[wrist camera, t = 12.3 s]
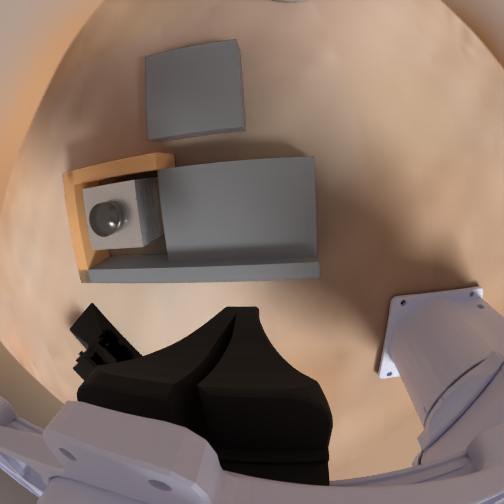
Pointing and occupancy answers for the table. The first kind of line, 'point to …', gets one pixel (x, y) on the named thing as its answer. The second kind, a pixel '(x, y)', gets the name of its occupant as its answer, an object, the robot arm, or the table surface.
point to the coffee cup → (291, 1)
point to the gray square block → (195, 91)
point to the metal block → (124, 214)
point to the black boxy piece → (99, 342)
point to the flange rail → (209, 221)
